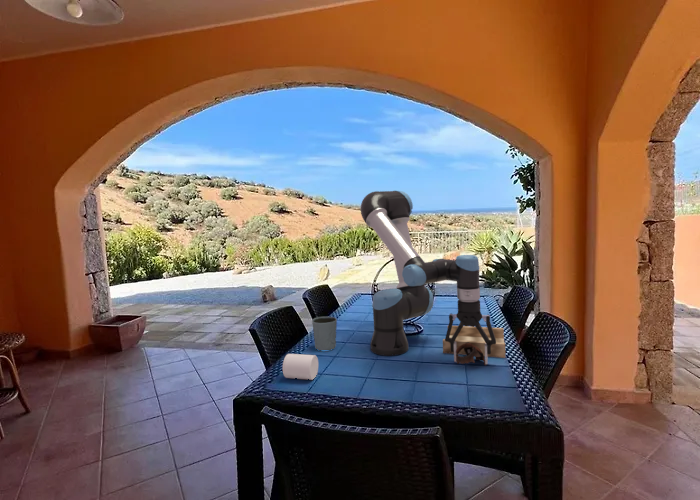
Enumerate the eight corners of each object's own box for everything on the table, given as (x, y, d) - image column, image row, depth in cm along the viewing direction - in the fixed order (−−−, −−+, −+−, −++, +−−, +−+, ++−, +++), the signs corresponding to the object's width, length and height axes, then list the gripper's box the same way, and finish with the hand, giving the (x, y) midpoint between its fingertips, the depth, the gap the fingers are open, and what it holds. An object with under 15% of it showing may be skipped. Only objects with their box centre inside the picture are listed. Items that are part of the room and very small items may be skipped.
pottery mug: (491, 370, 128) (480, 352, 126) (465, 380, 130) (454, 363, 128) (482, 348, 139) (472, 332, 137) (458, 359, 142) (448, 342, 139)
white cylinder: (310, 384, 124) (309, 360, 123) (283, 381, 127) (281, 359, 126) (323, 368, 136) (321, 347, 135) (297, 367, 138) (296, 346, 138)
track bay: (443, 353, 144) (442, 340, 143) (448, 336, 162) (447, 325, 161) (505, 357, 136) (505, 344, 136) (503, 340, 154) (503, 328, 153)
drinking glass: (308, 348, 156) (306, 320, 155) (326, 341, 164) (324, 314, 162) (325, 354, 149) (323, 324, 148) (343, 346, 157) (341, 318, 156)
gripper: (434, 301, 132) (437, 363, 134) (503, 302, 124) (505, 368, 126) (437, 296, 139) (440, 355, 141) (502, 297, 131) (504, 359, 133)
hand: (470, 361), depth 134 cm, fingers closed on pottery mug, 10 cm apart
